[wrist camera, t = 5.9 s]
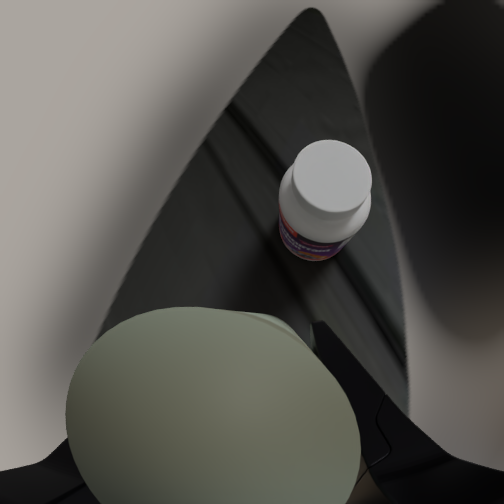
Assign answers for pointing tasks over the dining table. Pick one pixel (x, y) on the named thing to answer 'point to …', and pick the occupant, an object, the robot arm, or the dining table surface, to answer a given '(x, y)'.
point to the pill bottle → (324, 199)
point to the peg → (210, 414)
